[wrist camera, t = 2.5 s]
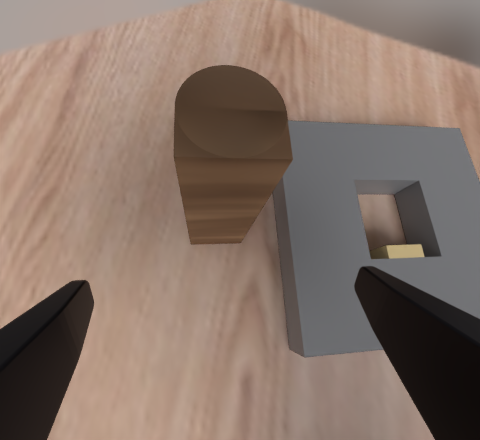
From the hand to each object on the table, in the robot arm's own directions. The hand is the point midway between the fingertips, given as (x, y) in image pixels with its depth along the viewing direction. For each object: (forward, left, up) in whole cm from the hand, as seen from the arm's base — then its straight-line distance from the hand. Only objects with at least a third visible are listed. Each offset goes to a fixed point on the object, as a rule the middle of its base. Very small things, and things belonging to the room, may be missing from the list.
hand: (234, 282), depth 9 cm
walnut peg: (+4, +4, -12) cm, 13 cm away
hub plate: (+13, -7, -12) cm, 19 cm away
